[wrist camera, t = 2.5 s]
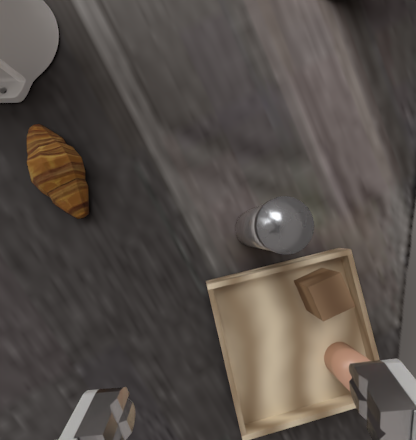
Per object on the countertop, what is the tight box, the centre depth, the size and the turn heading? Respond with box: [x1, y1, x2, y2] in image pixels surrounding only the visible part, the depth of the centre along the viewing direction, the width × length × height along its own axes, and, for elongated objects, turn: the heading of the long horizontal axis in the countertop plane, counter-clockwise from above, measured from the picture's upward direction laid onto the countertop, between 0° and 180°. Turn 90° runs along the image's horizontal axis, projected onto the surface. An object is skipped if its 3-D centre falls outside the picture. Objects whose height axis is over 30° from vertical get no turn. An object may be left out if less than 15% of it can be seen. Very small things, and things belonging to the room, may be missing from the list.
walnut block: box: [294, 268, 355, 322], centre depth 29 cm, size 4×4×4 cm
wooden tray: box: [206, 248, 380, 440], centre depth 31 cm, size 18×18×4 cm
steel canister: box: [235, 196, 314, 254], centre depth 28 cm, size 5×5×12 cm
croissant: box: [27, 124, 89, 219], centre depth 31 cm, size 14×7×5 cm, turn 28°
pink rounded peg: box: [324, 342, 371, 391], centre depth 29 cm, size 4×4×4 cm
